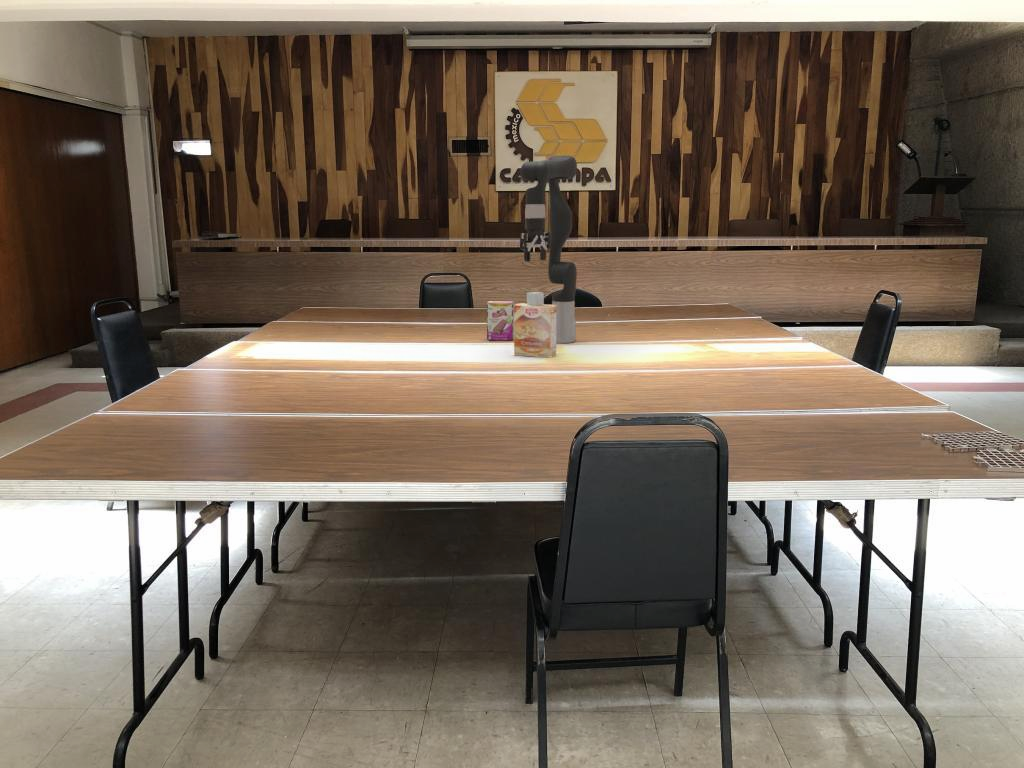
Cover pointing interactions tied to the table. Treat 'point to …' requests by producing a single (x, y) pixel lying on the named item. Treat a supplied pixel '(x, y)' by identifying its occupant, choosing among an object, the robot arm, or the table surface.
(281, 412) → the table surface
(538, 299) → the blue-grey cube
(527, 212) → the robot arm
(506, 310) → the candy bar box
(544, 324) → the coffeecake box
